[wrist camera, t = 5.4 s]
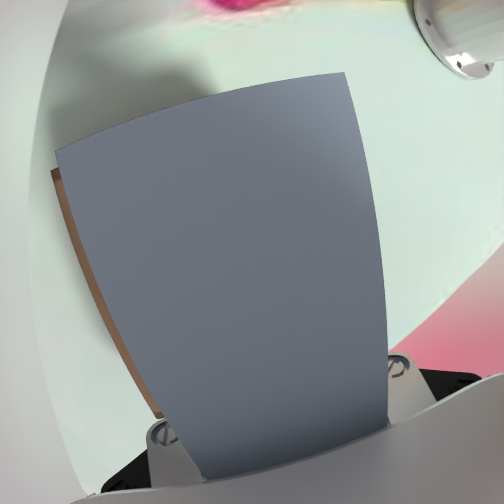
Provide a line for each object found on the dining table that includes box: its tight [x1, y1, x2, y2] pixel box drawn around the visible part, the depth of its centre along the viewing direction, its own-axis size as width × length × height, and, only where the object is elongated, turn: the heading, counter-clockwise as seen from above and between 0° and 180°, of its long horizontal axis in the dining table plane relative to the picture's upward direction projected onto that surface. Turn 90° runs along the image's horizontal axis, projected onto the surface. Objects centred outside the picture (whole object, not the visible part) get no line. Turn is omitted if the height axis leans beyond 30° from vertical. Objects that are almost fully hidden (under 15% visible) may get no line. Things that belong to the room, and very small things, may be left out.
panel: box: [55, 72, 388, 480], centre depth 15 cm, size 4×16×20 cm, turn 14°
